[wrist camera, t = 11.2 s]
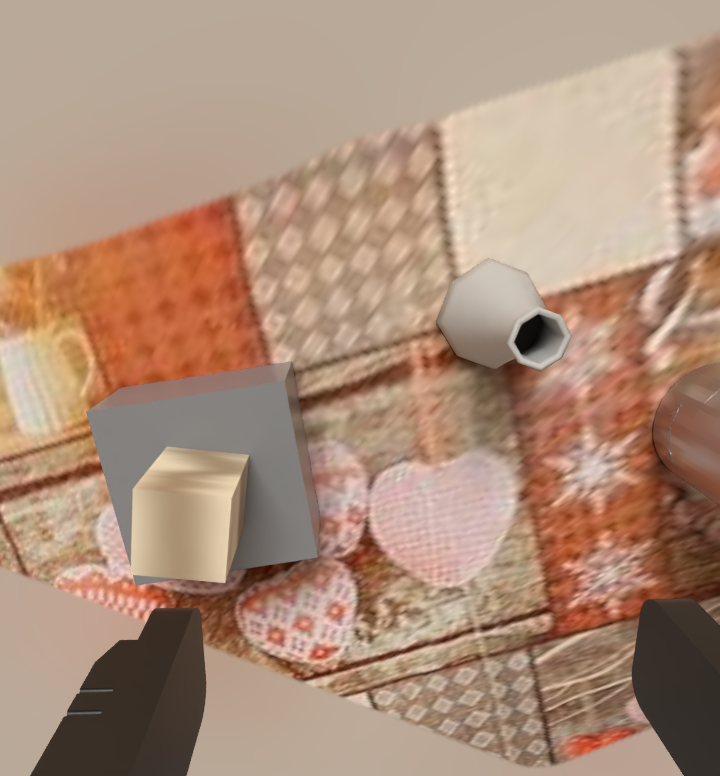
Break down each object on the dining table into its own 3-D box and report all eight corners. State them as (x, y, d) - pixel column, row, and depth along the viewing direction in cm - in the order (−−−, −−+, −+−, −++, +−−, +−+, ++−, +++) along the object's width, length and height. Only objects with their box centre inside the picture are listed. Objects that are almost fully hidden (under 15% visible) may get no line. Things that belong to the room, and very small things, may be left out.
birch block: (249, 454, 35) (231, 498, 29) (243, 527, 36) (225, 582, 31) (167, 446, 35) (132, 488, 29) (164, 520, 36) (130, 574, 30)
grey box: (292, 360, 40) (284, 381, 34) (320, 514, 43) (317, 557, 37) (122, 386, 40) (86, 411, 34) (163, 538, 43) (135, 585, 37)
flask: (494, 385, 41) (543, 432, 31) (416, 323, 39) (442, 351, 30) (563, 305, 39) (637, 328, 30) (486, 238, 38) (536, 238, 28)
